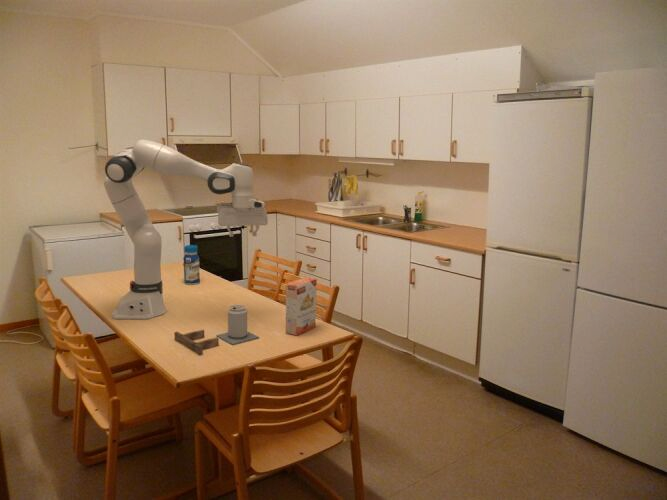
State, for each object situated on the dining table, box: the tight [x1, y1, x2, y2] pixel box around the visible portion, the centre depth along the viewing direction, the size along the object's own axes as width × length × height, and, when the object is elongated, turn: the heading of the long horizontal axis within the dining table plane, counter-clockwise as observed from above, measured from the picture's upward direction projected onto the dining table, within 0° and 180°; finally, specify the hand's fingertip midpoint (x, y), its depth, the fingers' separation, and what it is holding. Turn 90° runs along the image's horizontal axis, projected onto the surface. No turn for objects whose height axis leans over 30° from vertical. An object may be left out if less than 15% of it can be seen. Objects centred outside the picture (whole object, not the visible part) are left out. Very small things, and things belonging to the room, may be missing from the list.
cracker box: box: [285, 276, 318, 336], centre depth 231 cm, size 14×6×21 cm, turn 148°
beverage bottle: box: [182, 244, 201, 286], centre depth 299 cm, size 8×8×20 cm
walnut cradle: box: [174, 329, 220, 356], centre depth 215 cm, size 10×20×3 cm, turn 41°
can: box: [227, 304, 248, 339], centre depth 222 cm, size 8×8×12 cm
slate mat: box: [215, 330, 260, 346], centre depth 223 cm, size 12×12×1 cm
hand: (243, 236), depth 233 cm, fingers open, 8 cm apart
